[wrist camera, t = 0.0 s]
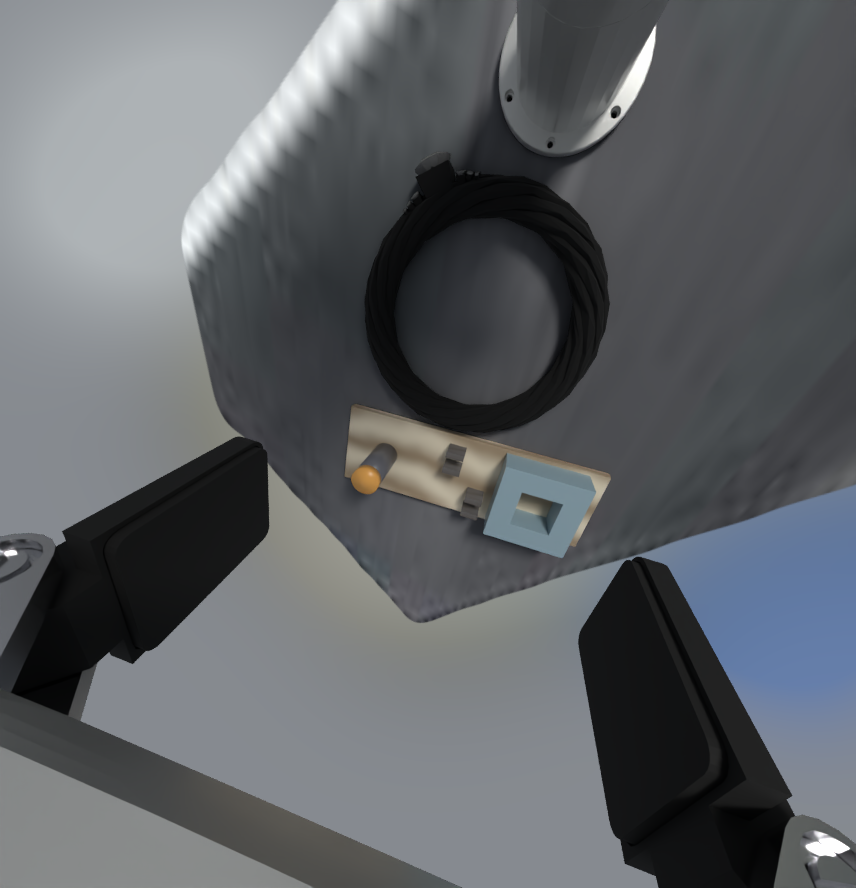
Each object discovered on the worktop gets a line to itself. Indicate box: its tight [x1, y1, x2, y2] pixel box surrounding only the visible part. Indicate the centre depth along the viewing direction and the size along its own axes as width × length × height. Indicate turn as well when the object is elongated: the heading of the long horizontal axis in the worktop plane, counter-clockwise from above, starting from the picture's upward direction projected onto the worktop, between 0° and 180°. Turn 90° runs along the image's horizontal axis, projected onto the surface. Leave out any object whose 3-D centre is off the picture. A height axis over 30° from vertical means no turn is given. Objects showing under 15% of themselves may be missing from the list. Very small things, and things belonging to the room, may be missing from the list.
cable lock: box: [365, 152, 610, 433], centre depth 39 cm, size 28×4×30 cm
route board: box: [345, 404, 611, 546], centre depth 48 cm, size 12×36×4 cm, turn 78°
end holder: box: [483, 453, 596, 558], centre depth 46 cm, size 11×11×4 cm
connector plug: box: [351, 443, 397, 494], centre depth 47 cm, size 4×4×8 cm
